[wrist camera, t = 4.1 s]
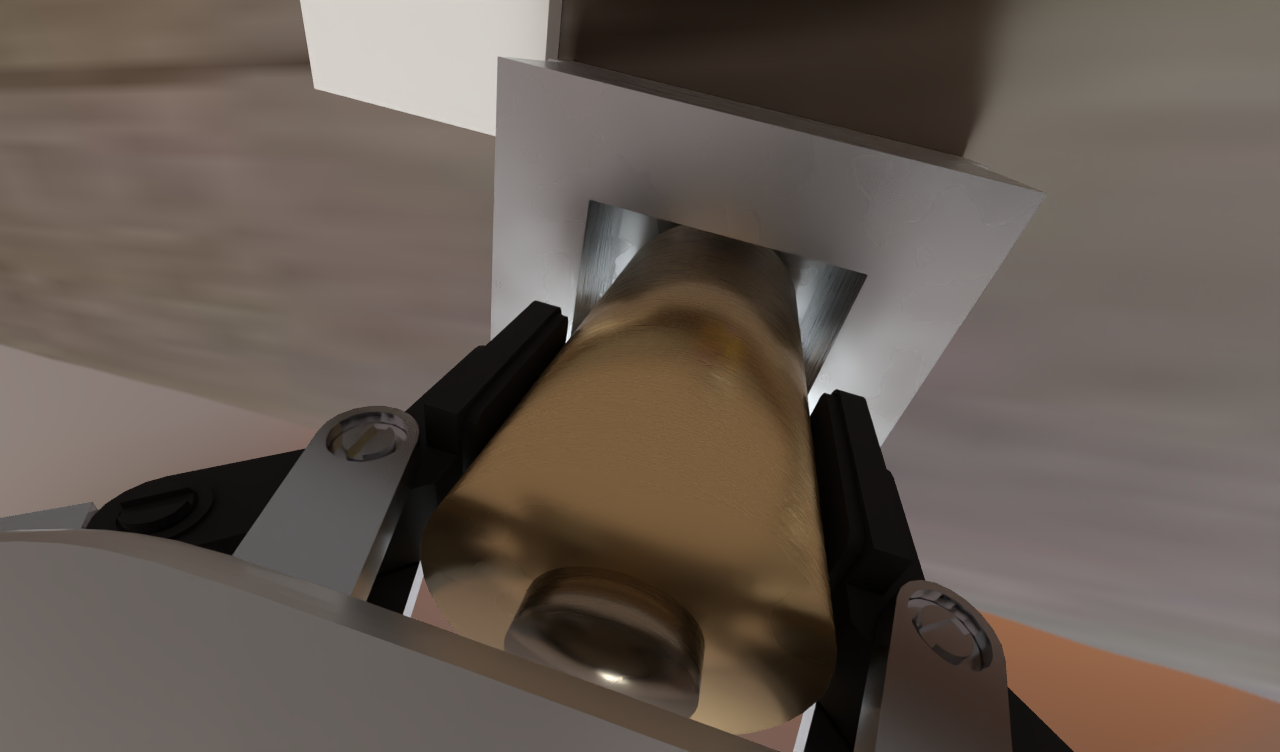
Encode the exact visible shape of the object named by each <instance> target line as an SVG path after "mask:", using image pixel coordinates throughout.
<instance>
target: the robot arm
mask: <svg viewBox="0 0 1280 752" xmlns="http://www.w3.org/2000/svg"><path fill="white" fill-rule="evenodd" d="M567 330H568V317H567V316H564V315H562V311H561V308H560V307H557V306H554V305H550V304H547V303H544V302H540V301H536V300H535V301H533V302H532V303H531V304H530V305H529V306H528V307H527V308H525V309H524V310H523V311H522V312H521V313H520V314H519V315H518V316H517V317H516V318H515V319H514V320H513V321H512V322H510V323H509V324H508V325H507V326H506V327H505V328H504V329H503V330H502V331H501V332H500V333H499V334H498V335H496V336H495V337H494V338H493V339H492V340H491V341H490V342H489V343H488V344H487V345H486V346H484V345H482V346H478V347H476V348H475V349H474V350H473V351H471V352H470V353H469V354H468V355H467V356H466V357H465V358H464V359H463V360H462V361H460V362H459V363H458V364H457V365H456V366H455V367H454V368H453V369H452V370H450V371H449V372H448V373H447V374H446V375H445V376H444V377H443V378H442V379H441V380H439V381H438V382H437V383H436V384H435V385H434V386H433V387H432V388H431V389H430V390H428V391H427V392H426V393H425V394H424V395H423V396H422V397H421V398H420V399H418V400H417V401H416V402H415V403H414V404H413V405H412V406H411V407H410V408H409V409H407V410H406V411H405V412H404V411H402V410H400V409H397V408H392V407H386V406H368V407H362V408H356V409H352V410H350V411H347V412H344V413H341V414H339V415H337V416H335V417H334V418H332V419H331V420H329V421H327V422H326V423H325V424H324V425H323V426H322V427H321V428H320V429H319V430H318V431H317V433H316V434H315V436H314V437H313V439H312V440H311V442H310V443H309V444H308V446H307V447H306V449H301V450H296V451H291V452H286V453H282V454H276V455H272V456H267V457H261V458H256V459H251V460H247V461H241V462H236V463H231V464H226V465H221V466H216V467H211V468H206V469H201V470H197V471H191V472H186V473H181V474H177V475H171V476H167V477H163V478H160V479H156V480H152V481H149V482H145V483H143V484H141V485H139V486H136V487H134V488H132V489H129V490H128V491H125V492H123V493H122V494H120V495H119V496H117V497H116V498H114V499H112V500H111V501H109V502H108V503H107V504H105V505H104V506H103V507H102V508H101V509H99V510H98V509H97V508H96V506H95V505H94V503H93V502H89V503H83V504H78V505H72V506H66V507H61V508H55V509H49V510H43V511H37V512H32V513H26V514H21V515H15V516H9V517H3V518H0V752H779V751H776V750H774V749H771V748H768V747H765V746H763V745H760V744H757V743H754V742H752V741H749V740H747V739H744V738H741V737H739V736H736V735H733V734H730V733H728V732H725V731H722V730H720V729H717V728H714V727H711V726H709V725H706V724H703V723H700V722H698V721H695V720H692V719H690V718H687V717H684V716H681V715H679V714H676V713H673V712H670V711H668V710H665V709H662V708H659V707H657V706H654V705H651V704H648V703H646V702H643V701H640V700H637V699H635V698H632V697H629V696H626V695H624V694H621V693H618V692H615V691H613V690H610V689H607V688H604V687H602V686H599V685H596V684H593V683H591V682H588V681H585V680H582V679H580V678H577V677H574V676H571V675H569V674H566V673H563V672H560V671H558V670H555V669H552V668H549V667H546V666H544V665H541V664H538V663H535V662H533V661H530V660H527V659H524V658H522V657H519V656H516V655H513V654H511V653H508V652H505V651H502V650H500V649H497V648H494V647H491V646H488V645H486V644H483V643H480V642H477V641H474V640H472V639H469V638H466V637H463V636H460V635H458V634H455V633H452V632H449V631H447V630H443V629H441V628H438V627H435V626H432V625H430V624H427V623H424V622H421V621H419V620H416V619H413V618H411V614H412V611H413V608H414V605H415V602H416V598H417V595H418V592H419V588H420V585H421V582H422V578H423V576H424V575H423V570H422V565H421V555H420V545H421V540H422V536H423V531H424V529H425V527H426V525H427V523H428V520H429V518H430V516H431V515H432V514H433V512H434V511H435V510H436V509H437V507H438V506H439V505H440V503H441V502H442V501H443V500H444V498H445V497H446V496H447V494H448V493H449V492H450V491H451V489H452V488H453V487H454V486H455V484H456V483H457V482H458V480H459V479H460V478H461V477H462V475H463V474H464V473H465V471H466V470H467V469H468V468H469V466H470V465H471V464H472V462H473V461H474V460H475V459H476V457H477V456H478V455H479V454H480V452H481V451H482V450H483V448H484V447H485V446H486V445H487V443H488V442H489V441H490V439H491V438H492V437H493V436H494V434H495V433H496V432H497V430H498V429H499V428H500V427H501V425H502V424H503V423H504V422H505V420H506V419H507V418H508V416H509V415H510V414H511V413H512V411H513V410H514V409H515V407H516V406H517V405H518V404H519V402H520V401H521V400H522V398H523V397H524V396H525V395H526V393H527V392H528V391H529V390H530V388H531V387H532V386H533V384H534V383H535V382H536V381H537V379H538V378H539V377H540V375H541V374H542V373H543V372H544V370H545V369H546V368H547V366H548V365H549V364H550V363H551V361H552V360H553V359H554V358H555V356H556V355H557V354H558V352H559V351H560V350H561V349H562V347H563V346H564V345H565V343H566V338H567ZM810 420H811V429H812V438H813V446H814V455H815V464H816V472H817V481H818V490H819V498H820V507H821V515H822V524H823V533H824V541H825V550H826V559H827V567H828V576H829V585H830V593H831V602H832V611H833V619H834V628H835V637H836V648H837V660H836V666H835V672H834V675H833V677H832V679H831V682H830V684H829V686H828V688H827V689H826V691H825V692H824V693H823V695H822V696H821V697H820V699H819V700H818V701H817V702H816V703H814V704H813V705H812V706H811V707H810V708H809V709H807V710H806V711H805V712H804V713H803V717H802V720H801V724H800V728H799V731H798V735H797V739H796V742H795V746H794V749H793V752H1073V751H1072V749H1070V748H1069V747H1068V746H1067V745H1066V744H1065V743H1064V742H1063V741H1062V740H1061V739H1060V738H1059V737H1058V736H1057V735H1056V734H1055V733H1054V732H1053V731H1052V730H1051V729H1050V728H1049V727H1048V726H1047V725H1046V724H1045V723H1044V722H1043V721H1042V720H1041V719H1040V718H1039V717H1038V716H1037V715H1036V714H1035V713H1034V712H1033V711H1032V710H1031V709H1029V707H1028V706H1027V705H1026V704H1025V703H1024V702H1022V701H1021V700H1020V698H1018V697H1017V696H1016V695H1015V694H1014V693H1013V692H1012V691H1011V690H1010V689H1009V688H1008V687H1007V674H1006V661H1005V657H1004V653H1003V649H1002V645H1001V643H1000V641H999V639H998V638H997V636H996V634H995V632H994V630H993V629H992V627H991V626H990V625H989V624H988V622H987V621H986V620H985V618H984V617H983V616H982V615H981V613H979V612H978V611H977V610H976V609H975V608H974V607H973V606H972V605H971V604H970V603H969V602H968V601H966V600H965V599H964V598H962V597H961V596H959V595H958V594H956V593H955V592H953V591H952V590H950V589H948V588H946V587H943V586H941V585H939V584H937V583H934V582H929V581H925V578H924V575H923V572H922V569H921V565H920V562H919V559H918V556H917V552H916V549H915V546H914V543H913V539H912V536H911V533H910V530H909V526H908V523H907V520H906V517H905V513H904V510H903V507H902V504H901V500H900V497H899V494H898V490H897V487H896V484H895V481H894V478H893V476H892V474H891V472H890V471H889V470H887V469H886V466H885V462H884V459H883V455H882V452H881V449H880V445H879V442H878V439H877V435H876V432H875V428H874V425H873V422H872V418H871V415H870V411H869V408H868V405H867V401H866V399H865V397H862V396H859V395H855V394H852V393H848V392H845V391H842V390H838V389H836V390H834V391H833V392H832V393H831V394H827V393H823V394H822V395H821V397H820V398H819V400H818V402H817V404H816V406H815V408H814V410H813V411H812V413H811V415H810Z"/></svg>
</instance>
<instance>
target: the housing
mask: <svg viewBox="0 0 1280 752" xmlns="http://www.w3.org/2000/svg"><path fill="white" fill-rule="evenodd" d="M989 169H990V168H989V167H987V166H984V165H982V164H979V163H977V162H974V161H971V160H969V159H966V158H964V157H960V156H956V155H952V154H948V153H944V152H940V151H936V150H932V149H927V148H923V147H919V146H915V145H911V144H907V143H903V142H899V141H895V140H891V139H887V138H883V137H879V136H875V135H871V134H867V133H863V132H859V131H855V130H851V129H847V128H843V127H838V126H834V125H830V124H826V123H822V122H818V121H814V120H810V119H806V118H802V117H798V116H794V115H790V114H786V113H782V112H778V111H774V110H770V109H766V108H762V107H758V106H754V105H749V104H745V103H741V102H737V101H733V100H729V99H725V98H721V97H717V96H713V95H709V94H705V93H701V92H697V91H693V90H689V89H685V88H681V87H677V86H673V85H669V84H665V83H660V82H656V81H652V80H648V79H644V78H640V77H636V76H632V75H628V74H624V73H620V72H616V71H612V70H608V69H604V68H600V67H596V66H592V65H588V64H584V63H580V62H576V61H569V60H560V59H550V58H549V59H548V61H543V60H532V59H521V58H510V57H499V56H498V59H497V100H496V141H495V182H494V223H493V263H492V304H491V340H492V339H493V338H494V337H495V336H496V335H498V334H499V333H500V332H501V331H502V330H503V329H504V328H505V327H506V326H507V325H508V324H509V323H510V322H512V321H513V320H514V319H515V318H516V317H517V316H518V315H519V314H520V313H521V312H522V311H523V310H524V309H525V308H527V307H528V306H529V305H530V304H531V303H532V302H533V301H535V300H536V301H540V302H544V303H547V304H550V305H554V306H557V307H560V308H561V311H562V315H564V316H567V317H568V330H567V338H566V342H567V341H568V340H569V338H570V337H571V336H572V334H573V333H574V332H575V331H576V329H577V328H578V327H579V326H580V324H581V323H582V322H583V320H584V319H585V318H586V317H587V315H588V314H589V313H590V311H591V310H592V309H593V308H594V306H595V305H596V304H597V302H598V301H599V300H600V299H601V297H602V296H603V295H604V294H605V292H606V291H607V290H608V288H609V287H610V286H611V285H612V283H613V282H614V281H615V279H616V278H617V277H618V276H619V274H620V273H621V272H622V271H623V269H624V268H625V267H626V265H627V264H628V263H629V262H630V260H631V259H632V258H633V257H634V255H635V254H636V253H637V252H638V250H639V249H640V248H641V247H643V246H644V245H645V244H646V243H647V242H648V241H650V240H651V239H652V238H654V237H655V236H657V235H659V234H661V233H662V232H664V231H666V230H669V229H671V228H674V227H677V226H680V225H685V226H689V227H693V228H697V229H700V230H704V231H708V232H711V233H715V234H719V235H723V236H726V237H730V238H734V239H737V240H741V241H745V242H749V243H752V244H756V245H760V246H763V247H767V248H771V249H772V250H773V251H774V252H775V253H776V254H777V256H778V257H779V258H780V259H781V261H782V262H783V264H784V265H785V267H786V269H787V270H788V272H789V274H790V277H791V279H792V282H793V285H794V289H795V292H796V299H797V308H798V316H799V325H800V334H801V342H802V351H803V360H804V368H805V377H806V386H807V394H808V403H809V412H810V415H811V413H812V411H813V410H814V408H815V406H816V404H817V402H818V400H819V398H820V397H821V395H822V394H823V393H827V394H831V393H832V392H833V391H834V390H836V389H838V390H842V391H845V392H848V393H852V394H855V395H859V396H862V397H865V399H866V401H867V405H868V408H869V411H870V415H871V418H872V422H873V425H874V428H875V432H876V435H877V439H878V442H879V445H880V447H881V445H882V444H883V442H884V440H885V439H886V437H887V436H888V434H889V433H890V431H891V430H892V428H893V427H894V425H895V424H896V422H897V421H898V419H899V418H900V416H901V415H902V413H903V412H904V410H905V409H906V407H907V406H908V404H909V403H910V401H911V400H912V398H913V397H914V395H915V393H916V392H917V390H918V389H919V387H920V386H921V384H922V383H923V381H924V380H925V378H926V377H927V375H928V374H929V372H930V371H931V369H932V368H933V366H934V365H935V363H936V362H937V360H938V359H939V357H940V356H941V354H942V353H943V351H944V350H945V348H946V346H947V345H948V343H949V342H950V340H951V339H952V337H953V336H954V334H955V333H956V331H957V330H958V328H959V327H960V325H961V324H962V322H963V321H964V319H965V318H966V316H967V315H968V313H969V312H970V310H971V309H972V307H973V306H974V304H975V303H976V301H977V300H978V298H979V296H980V295H981V293H982V292H983V290H984V289H985V287H986V286H987V284H988V283H989V281H990V280H991V278H992V277H993V275H994V274H995V272H996V271H997V269H998V268H999V266H1000V265H1001V263H1002V262H1003V260H1004V259H1005V257H1006V256H1007V254H1008V253H1009V251H1010V249H1011V248H1012V246H1013V245H1014V243H1015V242H1016V240H1017V239H1018V237H1019V236H1020V234H1021V233H1022V231H1023V230H1024V228H1025V227H1026V225H1027V224H1028V222H1029V221H1030V219H1031V218H1032V216H1033V215H1034V213H1035V212H1036V210H1037V209H1038V207H1039V206H1040V204H1041V202H1042V201H1043V199H1044V198H1045V196H1046V195H1047V193H1045V192H1042V191H1040V190H1037V189H1035V188H1032V187H1030V186H1027V185H1025V184H1022V183H1020V182H1017V181H1015V180H1012V179H1010V178H1007V177H1005V176H1002V175H1000V174H997V173H995V172H992V171H990V170H989Z"/></svg>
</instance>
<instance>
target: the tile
mask: <svg viewBox="0 0 1280 752" xmlns="http://www.w3.org/2000/svg"><path fill="white" fill-rule="evenodd" d="M562 1H563V0H300V2H301V9H302V15H303V21H304V27H305V33H306V39H307V46H308V52H309V58H310V64H311V70H312V76H313V82H314V88H315V89H319V90H322V91H326V92H330V93H334V94H338V95H341V96H345V97H349V98H353V99H357V100H360V101H364V102H368V103H372V104H376V105H379V106H383V107H387V108H391V109H395V110H398V111H402V112H406V113H410V114H414V115H417V116H421V117H425V118H429V119H433V120H436V121H440V122H444V123H448V124H452V125H455V126H459V127H463V128H467V129H471V130H474V131H478V132H482V133H486V134H490V135H493V136H496V100H497V59H498V56H499V57H510V58H521V59H532V60H543V61H548V59H549V58H550V59H558V48H559V36H560V24H561V13H562Z"/></svg>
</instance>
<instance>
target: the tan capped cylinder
mask: <svg viewBox="0 0 1280 752" xmlns="http://www.w3.org/2000/svg"><path fill="white" fill-rule="evenodd" d="M420 555H421V565H422V570H423V575H424V578H425V581H426V584H427V586H428V589H429V592H430V593H431V595H432V597H433V599H434V601H435V603H436V604H437V606H438V608H439V609H440V611H441V612H442V613H443V615H444V616H445V618H446V619H447V620H448V622H449V623H450V624H451V625H452V626H453V628H454V629H455V630H456V631H457V632H458V633H459V634H460V636H463V637H466V638H469V639H472V640H474V641H477V642H480V643H483V644H486V645H488V646H491V647H494V648H497V649H500V650H502V651H505V652H508V653H511V654H513V655H516V656H519V657H522V658H524V659H527V660H530V661H533V662H535V663H538V664H541V665H544V666H546V667H549V668H552V669H555V670H558V671H560V672H563V673H566V674H569V675H571V676H574V677H577V678H580V679H582V680H585V681H588V682H591V683H593V684H596V685H599V686H602V687H604V688H607V689H610V690H613V691H615V692H618V693H621V694H624V695H626V696H629V697H632V698H635V699H637V700H640V701H643V702H646V703H648V704H651V705H654V706H657V707H659V708H662V709H665V710H668V711H670V712H673V713H676V714H679V715H681V716H684V717H687V718H690V719H692V720H695V721H698V722H700V723H703V724H706V725H709V726H711V727H714V728H717V729H720V730H722V731H725V732H728V733H730V734H733V735H739V734H746V733H752V732H757V731H760V730H764V729H768V728H772V727H775V726H777V725H779V724H782V723H785V722H787V721H790V720H791V719H793V718H795V717H796V716H798V715H800V714H802V713H803V712H805V711H806V710H807V709H809V708H810V707H811V706H812V705H813V704H814V703H816V702H817V701H818V700H819V699H820V697H821V696H822V695H823V693H824V692H825V691H826V689H827V688H828V686H829V684H830V682H831V679H832V677H833V675H834V672H835V666H836V660H837V648H836V637H835V628H834V619H833V611H832V602H831V593H830V585H829V576H828V567H827V559H826V550H825V541H824V533H823V524H822V515H821V507H820V498H819V490H818V481H817V472H816V464H815V455H814V446H813V438H812V429H811V420H810V412H809V403H808V394H807V386H806V377H805V368H804V360H803V351H802V342H801V334H800V325H799V316H798V308H797V299H796V292H795V289H794V285H793V282H792V279H791V277H790V274H789V272H788V270H787V269H786V267H785V265H784V264H783V262H782V261H781V259H780V258H779V257H778V256H777V254H776V253H775V252H774V251H773V250H772V249H771V248H767V247H763V246H760V245H756V244H752V243H749V242H745V241H741V240H737V239H734V238H730V237H726V236H723V235H719V234H715V233H711V232H708V231H704V230H700V229H697V228H693V227H689V226H685V225H680V226H677V227H674V228H671V229H669V230H666V231H664V232H662V233H661V234H659V235H657V236H655V237H654V238H652V239H651V240H650V241H648V242H647V243H646V244H645V245H644V246H643V247H641V248H640V249H639V250H638V252H637V253H636V254H635V255H634V257H633V258H632V259H631V260H630V262H629V263H628V264H627V265H626V267H625V268H624V269H623V271H622V272H621V273H620V274H619V276H618V277H617V278H616V279H615V281H614V282H613V283H612V285H611V286H610V287H609V288H608V290H607V291H606V292H605V294H604V295H603V296H602V297H601V299H600V300H599V301H598V302H597V304H596V305H595V306H594V308H593V309H592V310H591V311H590V313H589V314H588V315H587V317H586V318H585V319H584V320H583V322H582V323H581V324H580V326H579V327H578V328H577V329H576V331H575V332H574V333H573V334H572V336H571V337H570V338H569V340H568V341H567V342H566V343H565V345H564V346H563V347H562V349H561V350H560V351H559V352H558V354H557V355H556V356H555V358H554V359H553V360H552V361H551V363H550V364H549V365H548V366H547V368H546V369H545V370H544V372H543V373H542V374H541V375H540V377H539V378H538V379H537V381H536V382H535V383H534V384H533V386H532V387H531V388H530V390H529V391H528V392H527V393H526V395H525V396H524V397H523V398H522V400H521V401H520V402H519V404H518V405H517V406H516V407H515V409H514V410H513V411H512V413H511V414H510V415H509V416H508V418H507V419H506V420H505V422H504V423H503V424H502V425H501V427H500V428H499V429H498V430H497V432H496V433H495V434H494V436H493V437H492V438H491V439H490V441H489V442H488V443H487V445H486V446H485V447H484V448H483V450H482V451H481V452H480V454H479V455H478V456H477V457H476V459H475V460H474V461H473V462H472V464H471V465H470V466H469V468H468V469H467V470H466V471H465V473H464V474H463V475H462V477H461V478H460V479H459V480H458V482H457V483H456V484H455V486H454V487H453V488H452V489H451V491H450V492H449V493H448V494H447V496H446V497H445V498H444V500H443V501H442V502H441V503H440V505H439V506H438V507H437V509H436V510H435V511H434V512H433V514H432V515H431V516H430V518H429V520H428V523H427V525H426V527H425V529H424V531H423V536H422V540H421V545H420Z"/></svg>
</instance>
